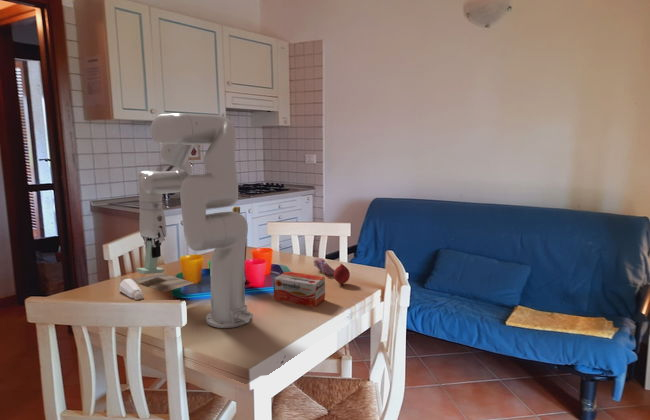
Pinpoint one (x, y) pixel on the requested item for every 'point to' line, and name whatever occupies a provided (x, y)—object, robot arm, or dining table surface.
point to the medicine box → (299, 289)
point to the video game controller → (323, 267)
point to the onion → (341, 274)
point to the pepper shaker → (131, 289)
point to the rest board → (162, 282)
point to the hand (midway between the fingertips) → (153, 255)
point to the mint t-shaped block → (150, 262)
